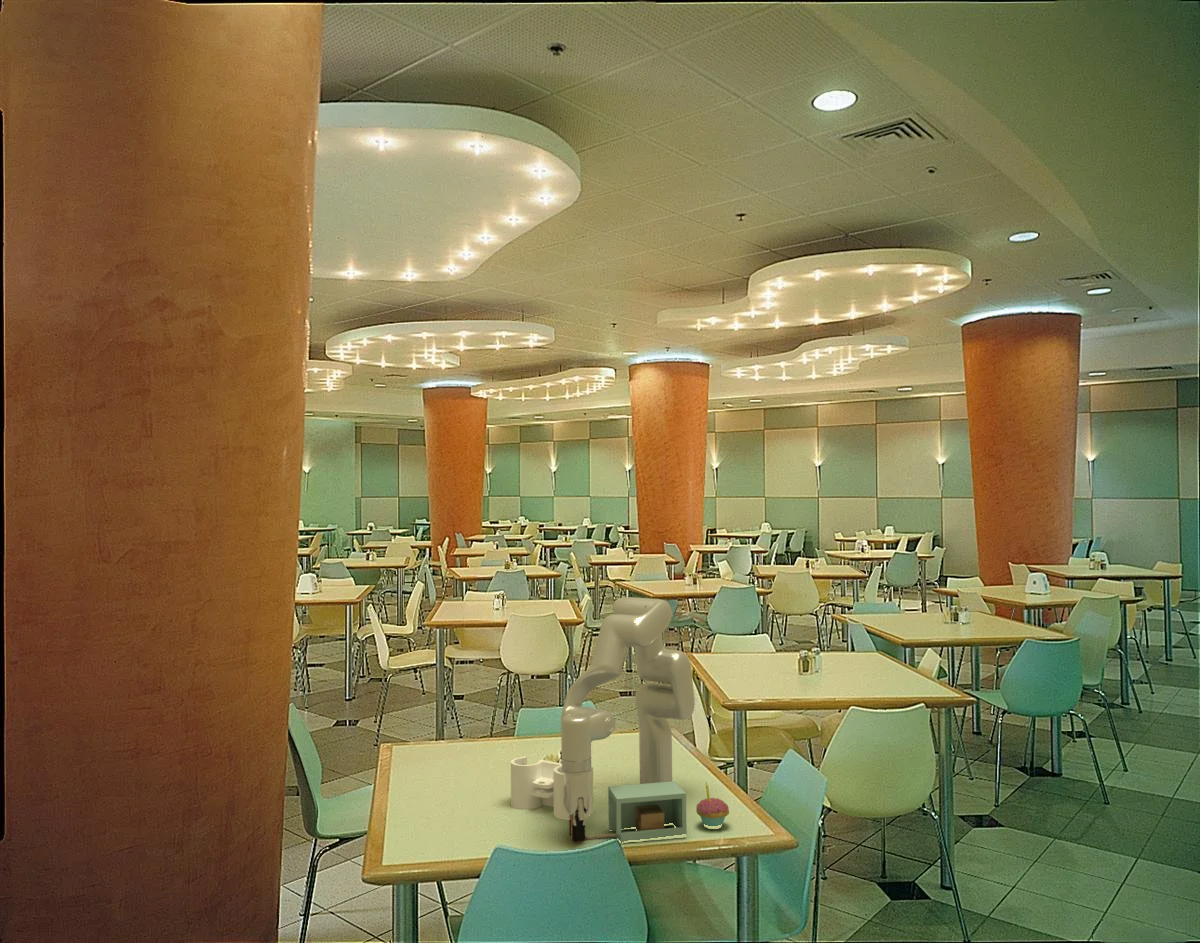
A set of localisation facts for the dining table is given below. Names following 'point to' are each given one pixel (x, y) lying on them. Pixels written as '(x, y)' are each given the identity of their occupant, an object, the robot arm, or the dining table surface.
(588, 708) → the robot arm
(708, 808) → the cupcake
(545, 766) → the bracket
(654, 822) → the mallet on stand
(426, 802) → the dining table surface
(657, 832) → the plain rectangular box
